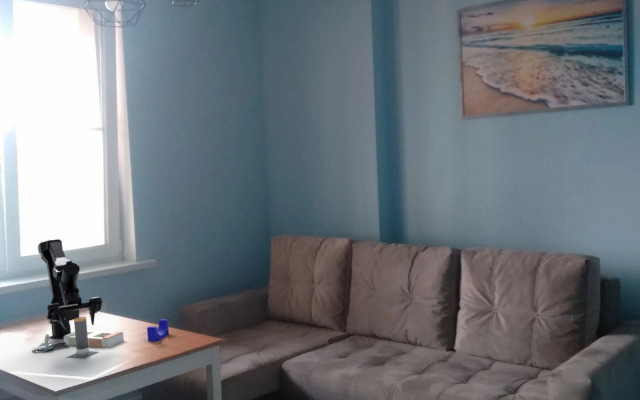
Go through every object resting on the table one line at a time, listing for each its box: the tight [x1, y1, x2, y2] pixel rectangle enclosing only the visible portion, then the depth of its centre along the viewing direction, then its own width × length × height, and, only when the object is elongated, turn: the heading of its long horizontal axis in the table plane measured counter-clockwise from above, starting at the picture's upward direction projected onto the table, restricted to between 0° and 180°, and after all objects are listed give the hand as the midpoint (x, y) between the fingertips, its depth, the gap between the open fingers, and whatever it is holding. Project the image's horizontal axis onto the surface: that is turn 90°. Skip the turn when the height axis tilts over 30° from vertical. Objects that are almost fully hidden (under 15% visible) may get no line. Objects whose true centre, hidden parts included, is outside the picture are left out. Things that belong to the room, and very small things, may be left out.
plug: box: [73, 316, 90, 356], centre depth 235 cm, size 4×4×13 cm
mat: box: [65, 350, 100, 360], centre depth 236 cm, size 8×8×1 cm
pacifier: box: [35, 333, 54, 353], centre depth 245 cm, size 7×6×6 cm
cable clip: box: [146, 318, 170, 342], centre depth 255 cm, size 12×4×6 cm, turn 169°
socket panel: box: [63, 330, 125, 348], centre depth 252 cm, size 20×9×4 cm, turn 70°
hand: (79, 327), depth 237 cm, fingers open, 9 cm apart
